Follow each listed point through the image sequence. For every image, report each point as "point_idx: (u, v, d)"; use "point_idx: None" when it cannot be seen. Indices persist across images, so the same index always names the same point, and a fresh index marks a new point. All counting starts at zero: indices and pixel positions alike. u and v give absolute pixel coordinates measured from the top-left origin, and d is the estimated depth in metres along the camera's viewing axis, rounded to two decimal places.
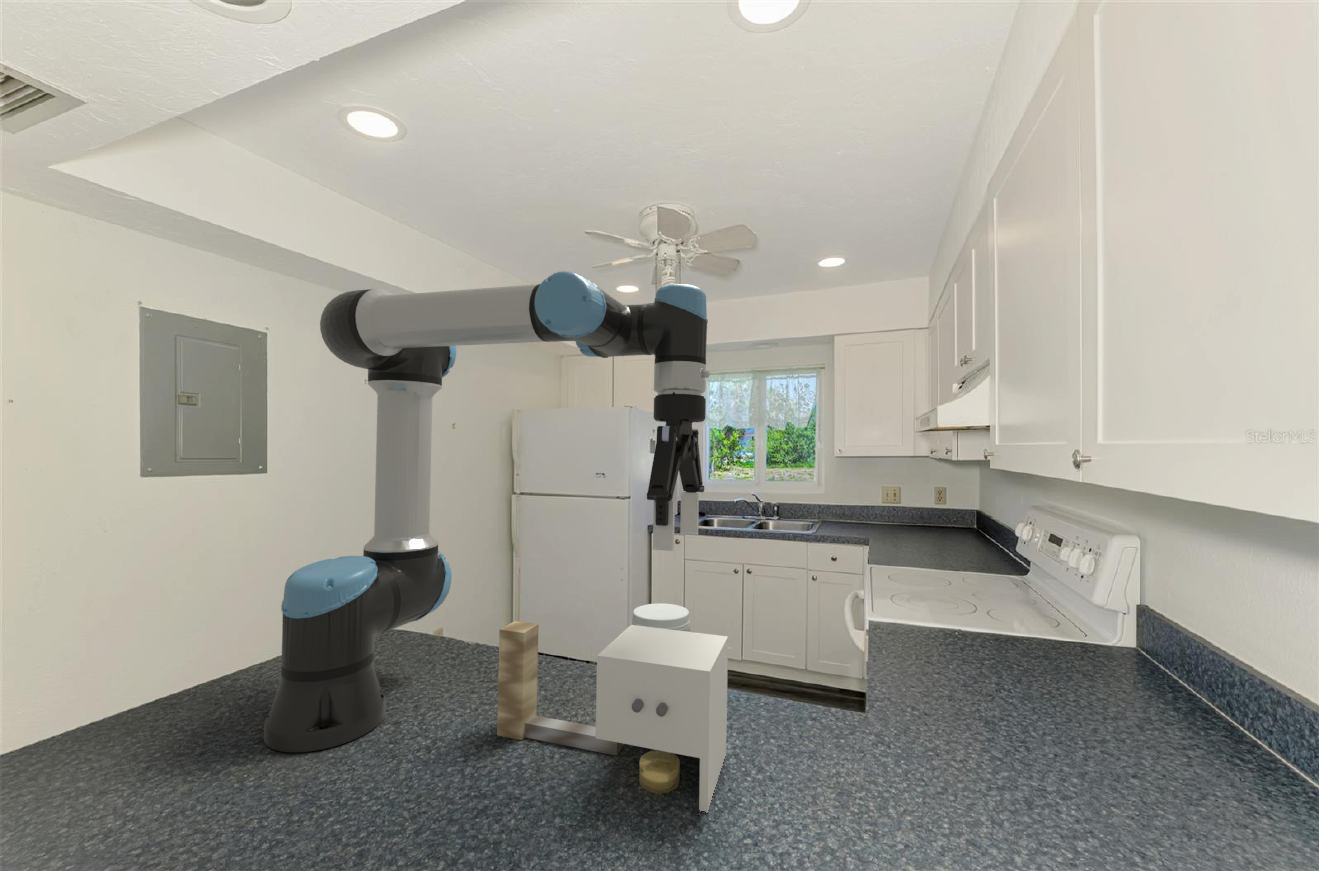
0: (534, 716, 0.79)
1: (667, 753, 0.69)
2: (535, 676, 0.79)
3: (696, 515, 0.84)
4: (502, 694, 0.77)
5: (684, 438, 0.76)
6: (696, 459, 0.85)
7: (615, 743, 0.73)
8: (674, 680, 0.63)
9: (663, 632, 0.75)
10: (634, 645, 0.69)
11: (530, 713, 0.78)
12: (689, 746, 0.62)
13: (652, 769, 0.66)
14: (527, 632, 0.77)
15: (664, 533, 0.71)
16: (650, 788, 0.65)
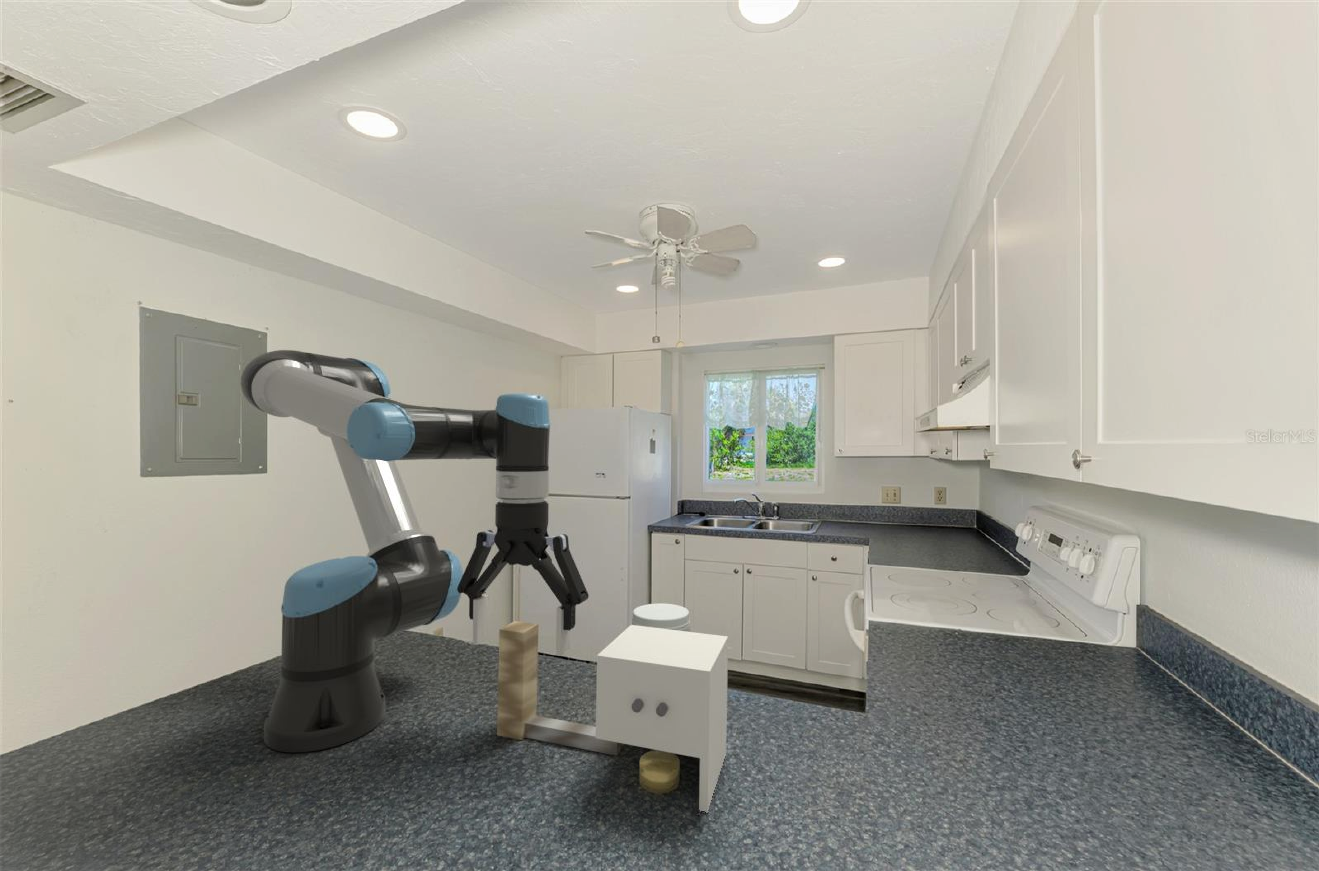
0: (534, 716, 0.79)
1: (667, 753, 0.69)
2: (535, 676, 0.79)
3: (556, 633, 0.76)
4: (502, 694, 0.77)
5: None
6: (561, 570, 0.76)
7: (615, 743, 0.73)
8: (674, 680, 0.63)
9: (663, 632, 0.75)
10: (634, 645, 0.69)
11: (530, 713, 0.78)
12: (689, 746, 0.62)
13: (652, 768, 0.66)
14: (527, 632, 0.77)
15: None
16: (650, 788, 0.65)
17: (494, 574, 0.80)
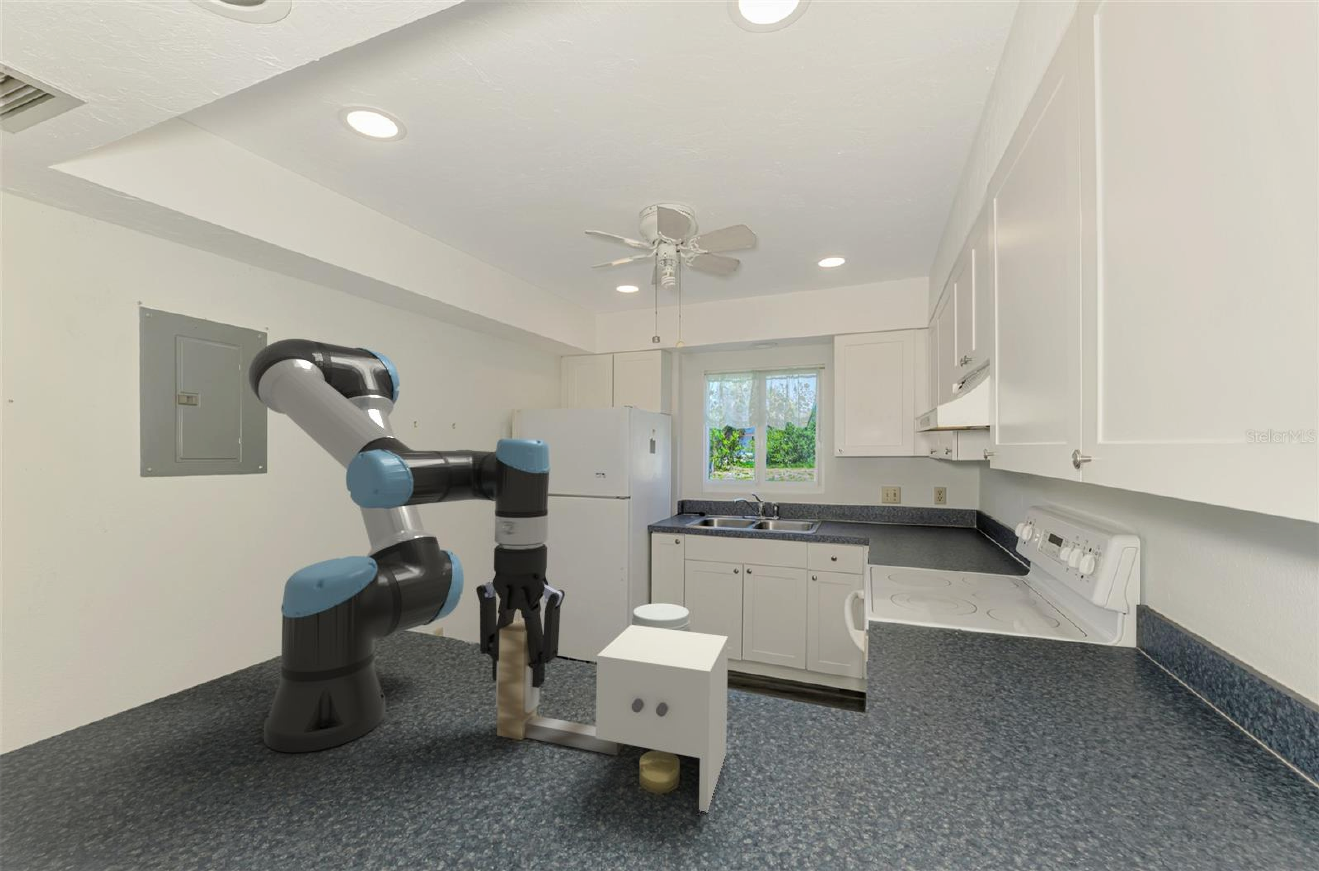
0: (534, 716, 0.79)
1: (667, 753, 0.69)
2: None
3: (525, 690, 0.77)
4: (502, 694, 0.77)
5: None
6: None
7: (615, 743, 0.73)
8: (674, 680, 0.63)
9: (663, 632, 0.75)
10: (634, 645, 0.69)
11: (530, 713, 0.78)
12: (689, 746, 0.62)
13: (652, 768, 0.66)
14: None
15: None
16: (650, 788, 0.65)
17: None
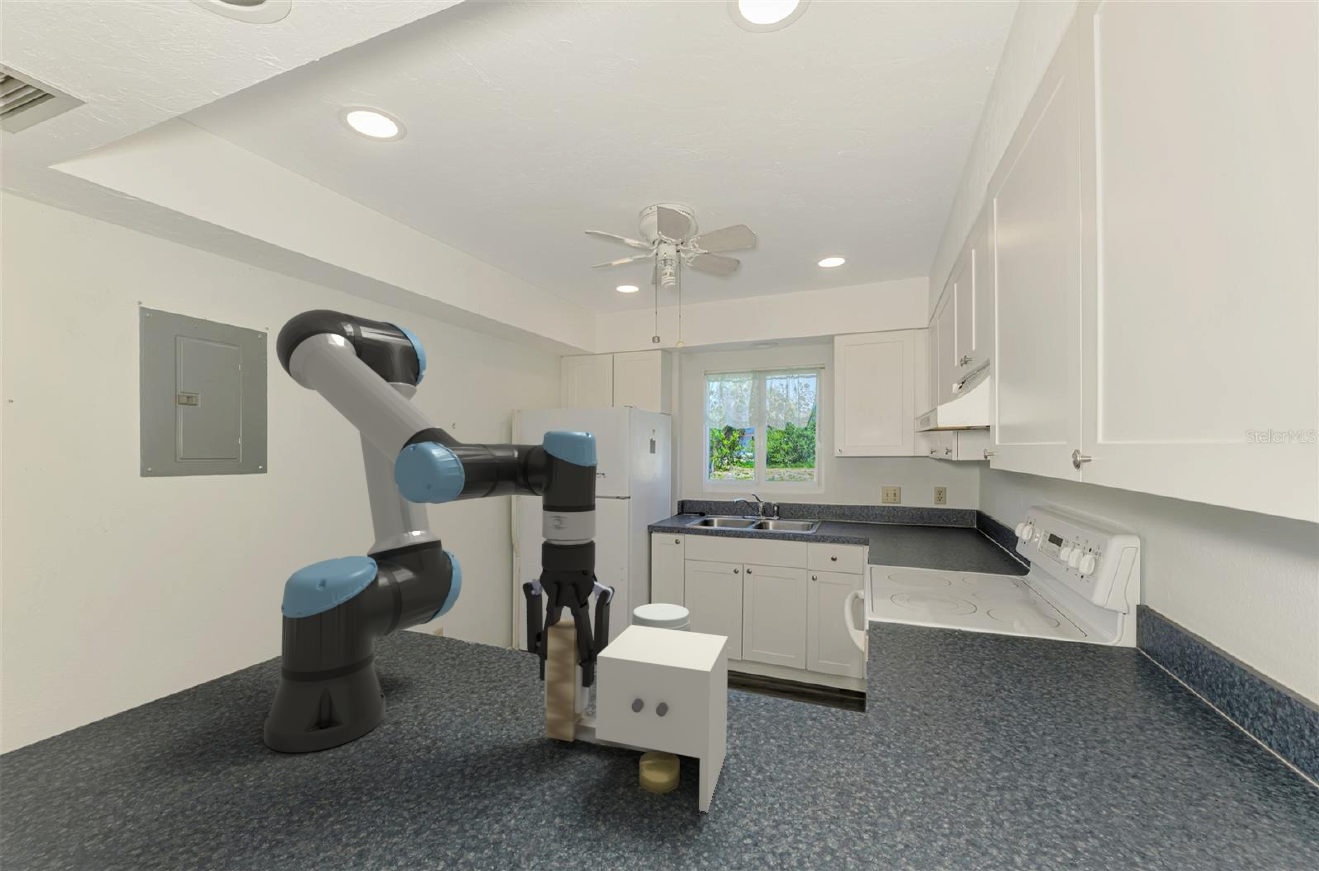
0: (583, 717, 0.76)
1: (667, 753, 0.69)
2: None
3: (575, 690, 0.75)
4: (551, 694, 0.75)
5: None
6: (595, 622, 0.74)
7: None
8: (674, 680, 0.63)
9: (663, 632, 0.75)
10: (634, 645, 0.69)
11: (580, 714, 0.76)
12: (689, 746, 0.62)
13: (652, 768, 0.66)
14: None
15: None
16: (650, 788, 0.65)
17: (555, 623, 0.77)
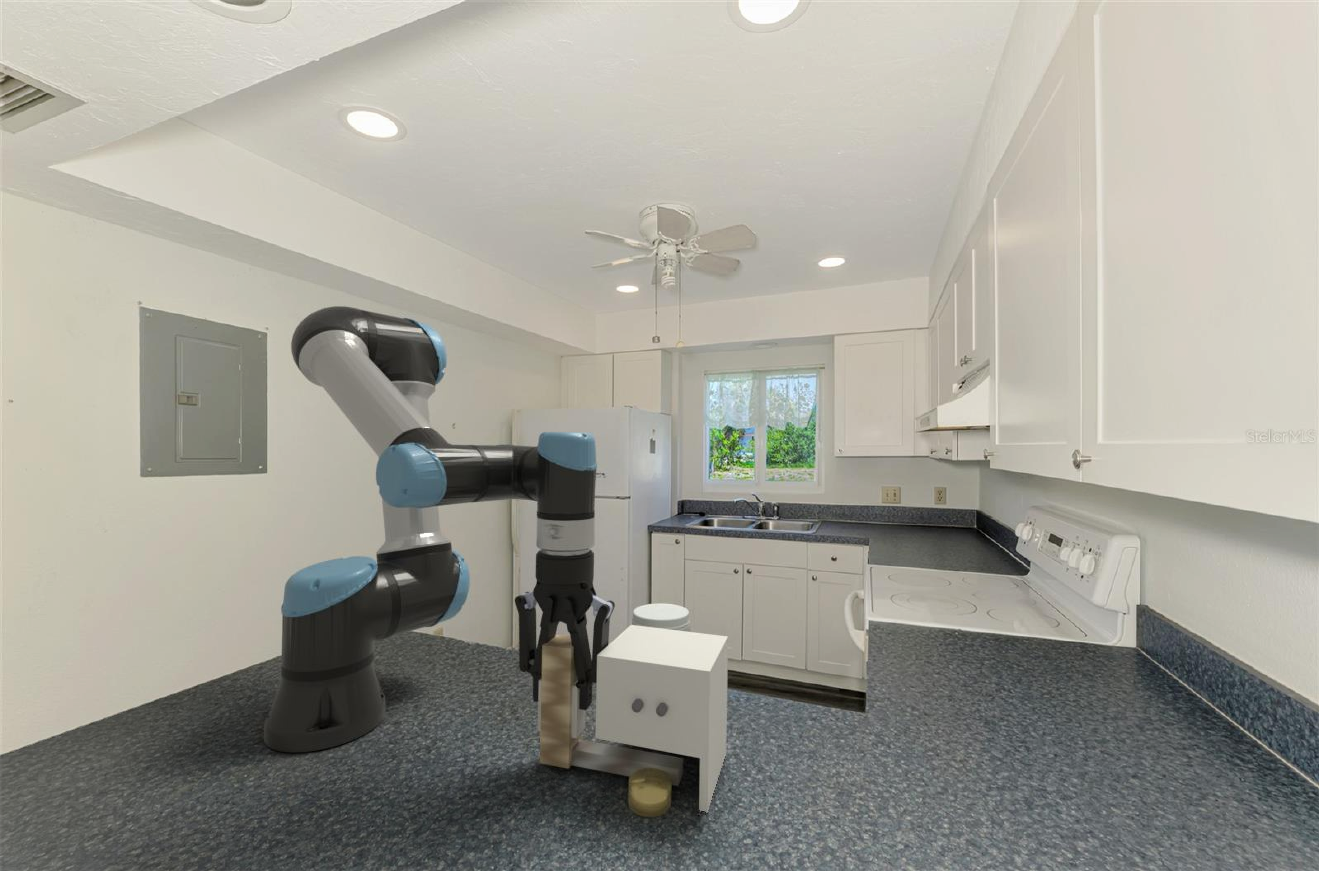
0: (580, 741, 0.71)
1: (658, 771, 0.65)
2: None
3: None
4: (546, 717, 0.69)
5: None
6: None
7: (676, 772, 0.65)
8: (674, 680, 0.63)
9: (663, 632, 0.75)
10: (634, 645, 0.69)
11: (576, 738, 0.70)
12: (689, 746, 0.62)
13: (642, 789, 0.62)
14: None
15: None
16: (640, 810, 0.61)
17: None
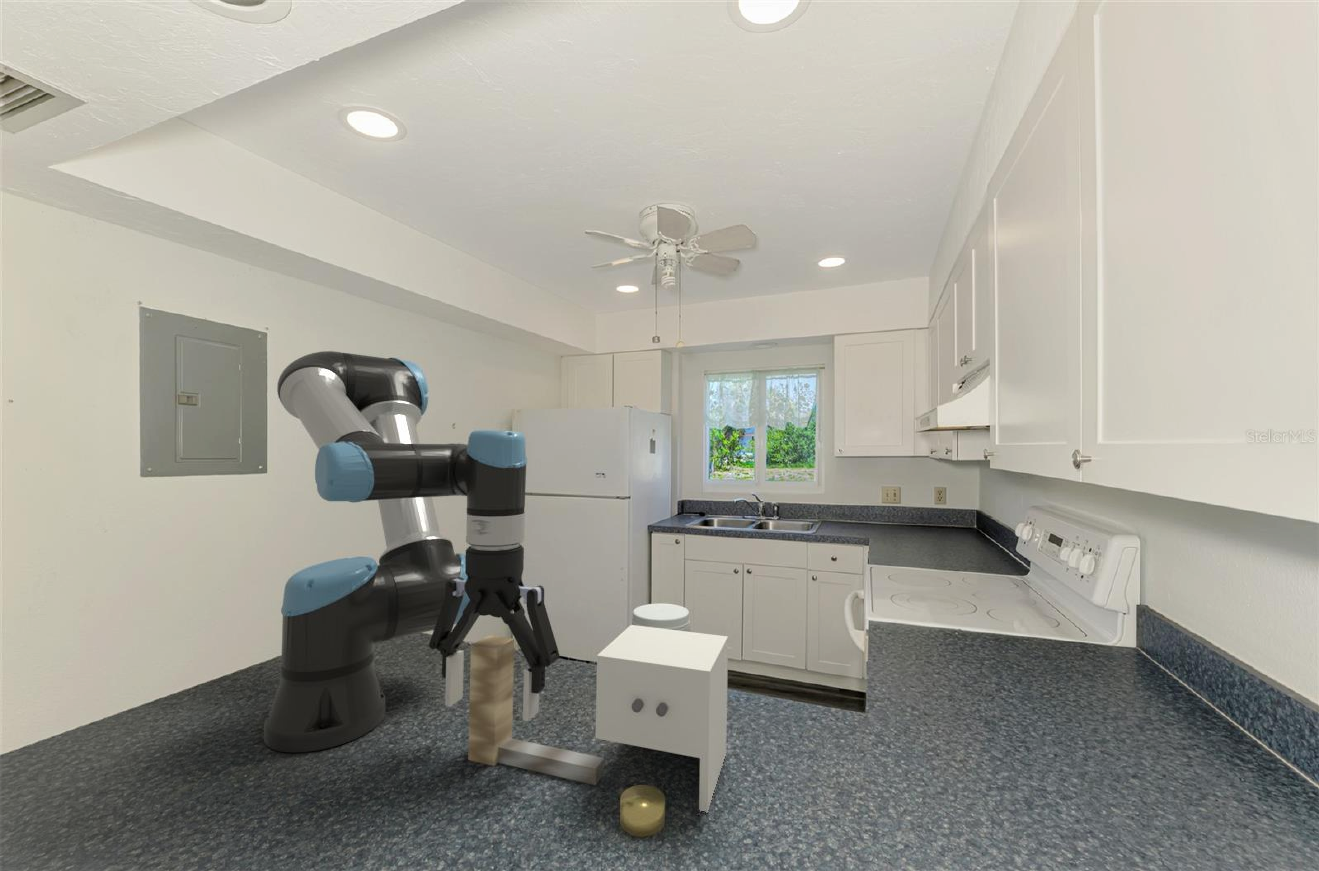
0: (509, 739, 0.72)
1: (651, 788, 0.62)
2: (510, 695, 0.73)
3: (523, 696, 0.70)
4: (474, 715, 0.71)
5: None
6: None
7: (594, 772, 0.66)
8: (674, 680, 0.63)
9: (663, 632, 0.75)
10: (634, 645, 0.69)
11: (505, 736, 0.72)
12: (689, 746, 0.62)
13: (634, 808, 0.59)
14: (501, 648, 0.71)
15: None
16: (632, 830, 0.58)
17: (468, 626, 0.74)
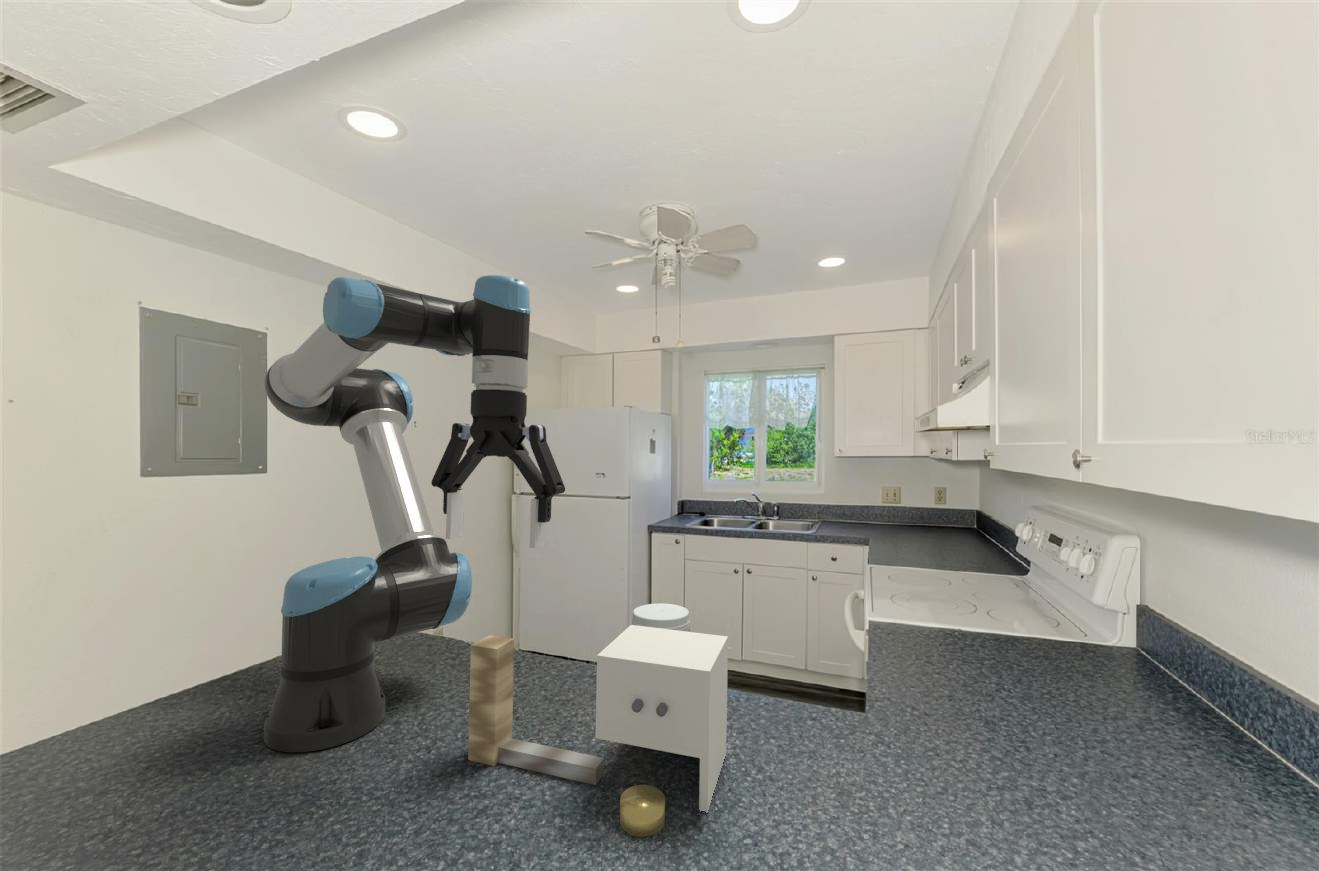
0: (509, 739, 0.72)
1: (651, 788, 0.62)
2: (510, 695, 0.73)
3: (530, 525, 0.72)
4: (474, 715, 0.71)
5: None
6: None
7: (594, 772, 0.66)
8: (674, 680, 0.63)
9: (663, 632, 0.75)
10: (634, 645, 0.69)
11: (505, 736, 0.72)
12: (689, 746, 0.62)
13: (634, 808, 0.59)
14: (501, 648, 0.71)
15: None
16: (632, 830, 0.58)
17: (470, 467, 0.77)
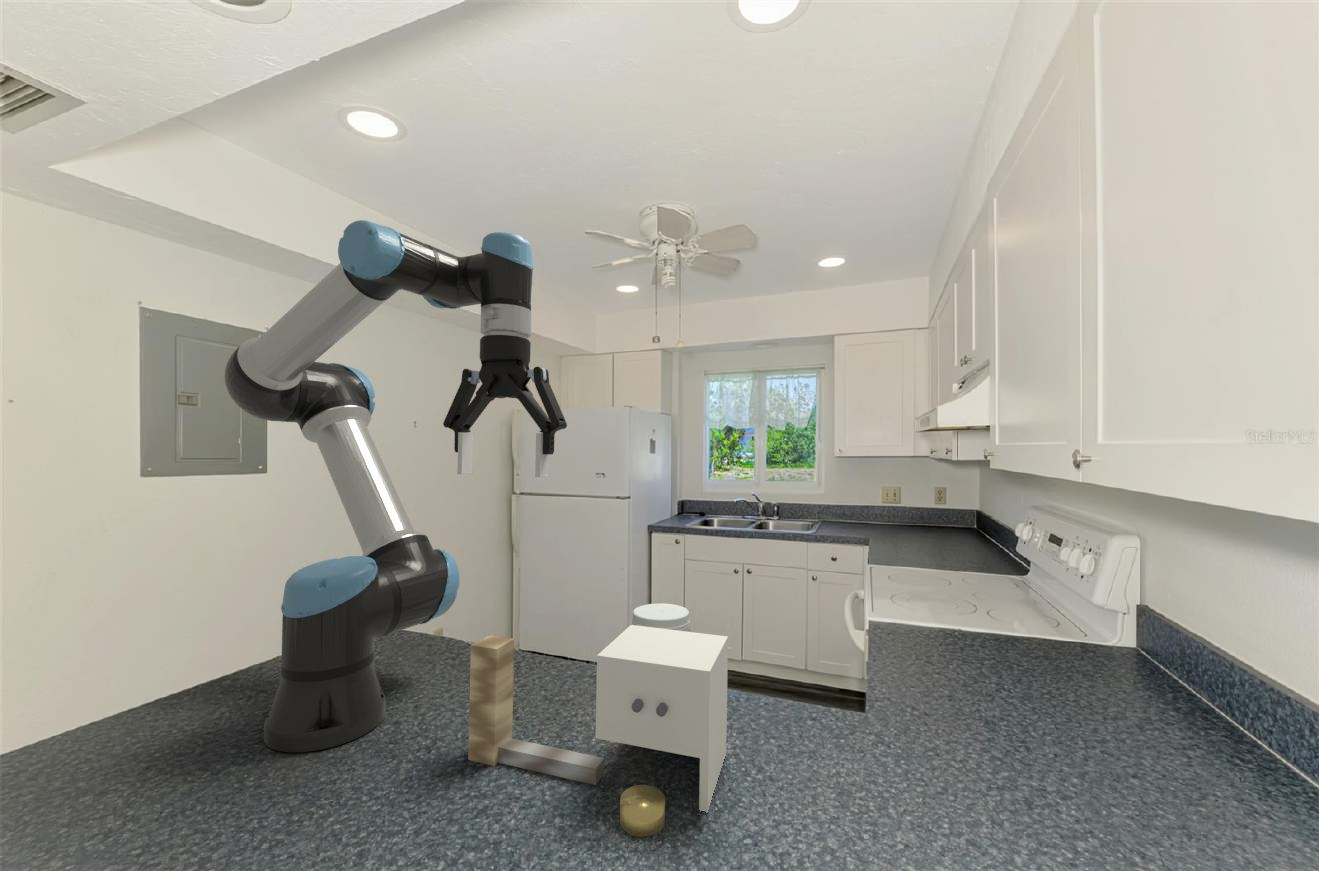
0: (509, 739, 0.72)
1: (651, 788, 0.62)
2: (510, 695, 0.73)
3: (536, 457, 0.80)
4: (474, 715, 0.71)
5: None
6: (541, 398, 0.80)
7: (594, 772, 0.66)
8: (674, 680, 0.63)
9: (663, 632, 0.75)
10: (634, 645, 0.69)
11: (505, 736, 0.72)
12: (689, 746, 0.62)
13: (634, 808, 0.59)
14: (501, 648, 0.71)
15: None
16: (632, 831, 0.58)
17: (479, 409, 0.84)
